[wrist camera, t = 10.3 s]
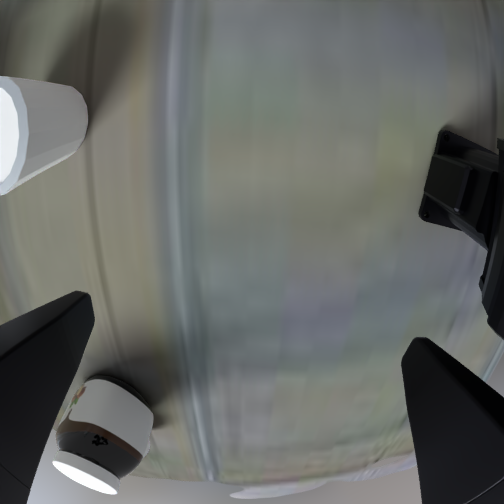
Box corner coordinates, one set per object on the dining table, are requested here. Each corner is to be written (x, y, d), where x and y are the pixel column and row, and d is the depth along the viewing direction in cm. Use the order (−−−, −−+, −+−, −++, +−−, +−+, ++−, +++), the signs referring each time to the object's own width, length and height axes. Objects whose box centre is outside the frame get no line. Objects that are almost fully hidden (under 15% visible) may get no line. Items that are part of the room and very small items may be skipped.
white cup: (30, 81, 15) (-37, 85, 9) (101, 72, 15) (33, 65, 9) (26, 167, 18) (-37, 194, 12) (93, 171, 18) (29, 202, 12)
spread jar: (118, 362, 26) (75, 460, 16) (190, 422, 30) (174, 510, 20) (64, 384, 29) (28, 456, 19) (127, 434, 33) (105, 503, 23)
